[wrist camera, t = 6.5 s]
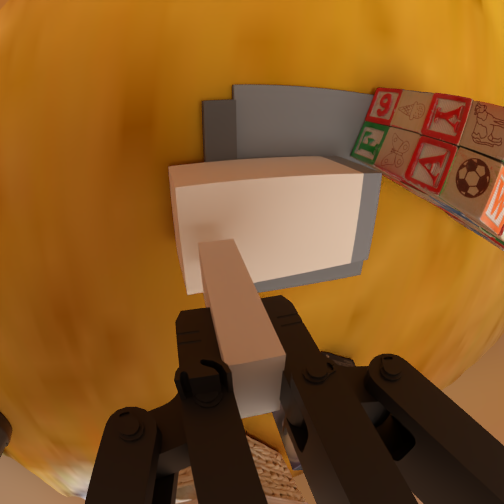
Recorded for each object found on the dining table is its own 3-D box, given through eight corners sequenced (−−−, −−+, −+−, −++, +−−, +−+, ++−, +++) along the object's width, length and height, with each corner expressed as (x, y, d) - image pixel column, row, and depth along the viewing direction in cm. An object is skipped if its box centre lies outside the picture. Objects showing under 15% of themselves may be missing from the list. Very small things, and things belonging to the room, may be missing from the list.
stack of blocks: (486, 184, 27) (564, 227, 17) (467, 228, 29) (541, 280, 19) (375, 85, 19) (520, 108, 8) (347, 156, 21) (483, 222, 10)
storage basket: (122, 440, 33) (129, 532, 21) (213, 404, 32) (241, 516, 20) (215, 476, 46) (232, 539, 33) (289, 448, 45) (316, 515, 32)
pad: (214, 294, 25) (216, 303, 24) (201, 86, 17) (203, 85, 16) (357, 271, 27) (363, 278, 26) (378, 96, 20) (387, 97, 19)
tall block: (187, 295, 16) (367, 259, 19) (174, 187, 13) (382, 173, 17) (177, 252, 20) (330, 229, 24) (168, 166, 17) (337, 155, 21)
